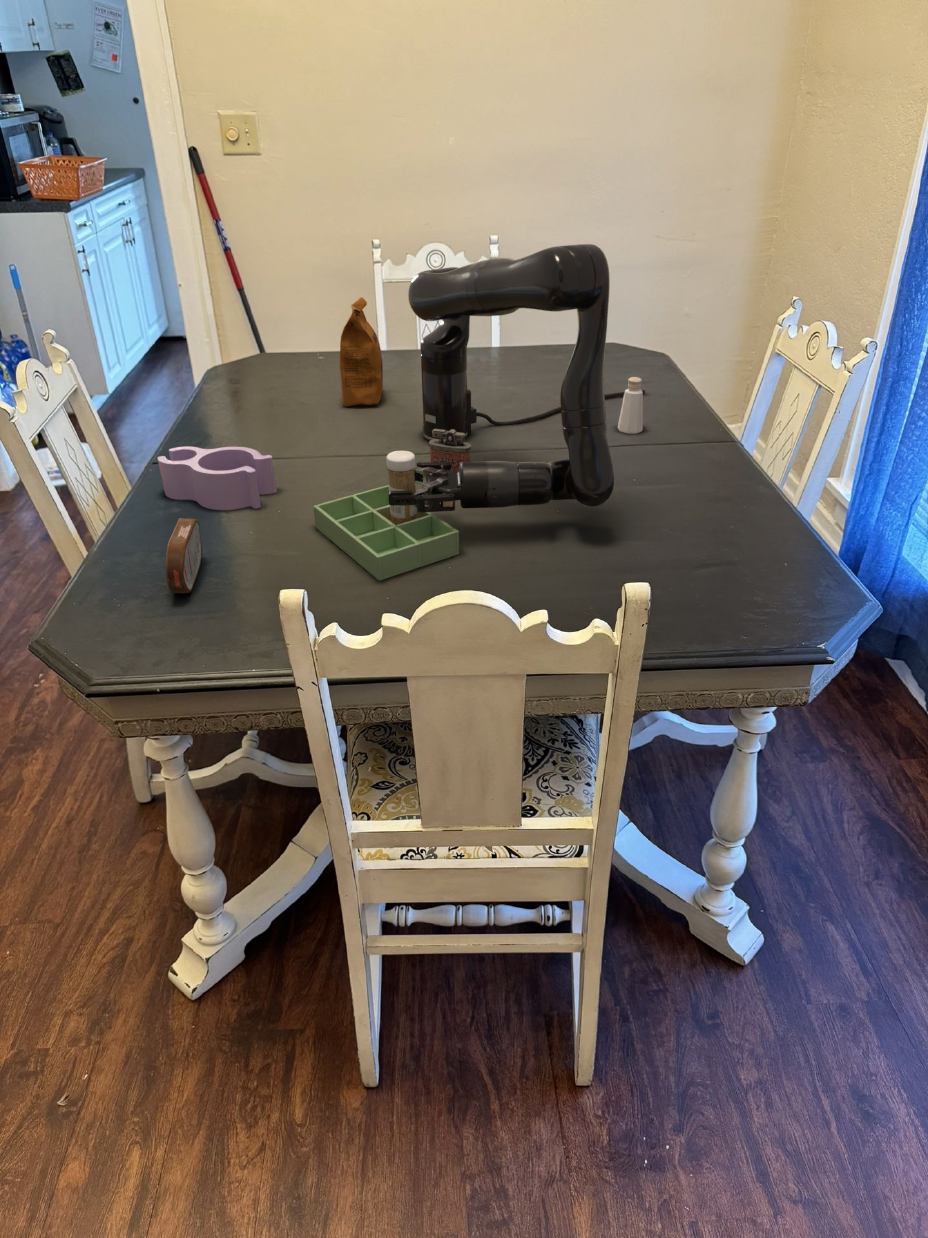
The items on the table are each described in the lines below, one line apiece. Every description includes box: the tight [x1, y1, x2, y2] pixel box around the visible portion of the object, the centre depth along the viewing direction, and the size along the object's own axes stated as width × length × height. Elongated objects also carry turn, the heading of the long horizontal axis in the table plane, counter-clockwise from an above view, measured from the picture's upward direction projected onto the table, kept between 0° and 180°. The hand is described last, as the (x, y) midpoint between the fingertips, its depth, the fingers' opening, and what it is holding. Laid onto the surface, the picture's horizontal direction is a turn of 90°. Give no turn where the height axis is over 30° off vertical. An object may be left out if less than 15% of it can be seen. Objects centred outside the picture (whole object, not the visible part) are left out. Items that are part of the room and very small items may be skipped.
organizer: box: [312, 484, 460, 581], centre depth 143 cm, size 15×22×4 cm
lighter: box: [428, 429, 472, 471], centre depth 161 cm, size 8×3×10 cm, turn 71°
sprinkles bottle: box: [385, 450, 417, 525], centre depth 142 cm, size 5×5×13 cm
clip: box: [156, 445, 278, 511], centre depth 158 cm, size 20×12×7 cm, turn 75°
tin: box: [165, 517, 203, 595], centre depth 132 cm, size 15×3×8 cm, turn 5°
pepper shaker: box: [617, 376, 644, 435], centre depth 182 cm, size 5×5×11 cm
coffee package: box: [339, 297, 384, 407], centre depth 197 cm, size 10×12×22 cm
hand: (389, 487), depth 141 cm, fingers open, 8 cm apart
